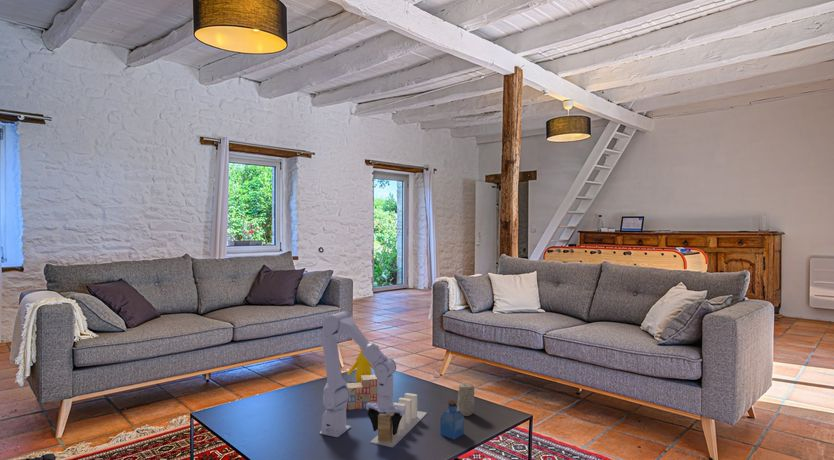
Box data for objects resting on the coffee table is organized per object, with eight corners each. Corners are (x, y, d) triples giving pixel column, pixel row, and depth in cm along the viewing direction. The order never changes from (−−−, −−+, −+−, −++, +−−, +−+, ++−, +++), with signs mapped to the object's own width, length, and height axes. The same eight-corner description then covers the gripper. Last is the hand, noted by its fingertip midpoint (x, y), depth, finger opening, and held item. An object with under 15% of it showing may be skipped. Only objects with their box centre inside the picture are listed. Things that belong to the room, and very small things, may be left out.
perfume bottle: (450, 429, 181) (450, 397, 181) (463, 433, 177) (464, 401, 177) (440, 434, 176) (440, 402, 176) (454, 439, 172) (454, 406, 172)
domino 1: (397, 435, 174) (397, 411, 174) (385, 433, 176) (385, 409, 176) (399, 433, 176) (399, 409, 176) (387, 431, 178) (387, 407, 178)
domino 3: (409, 424, 184) (409, 400, 184) (398, 422, 186) (398, 399, 186) (411, 422, 186) (411, 399, 186) (400, 420, 188) (400, 397, 188)
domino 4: (415, 418, 189) (415, 396, 189) (404, 416, 191) (404, 394, 191) (417, 416, 191) (417, 394, 191) (406, 415, 193) (406, 392, 193)
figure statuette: (383, 379, 236) (383, 335, 236) (380, 385, 229) (380, 339, 228) (347, 378, 238) (347, 334, 237) (344, 384, 230) (344, 338, 230)
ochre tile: (390, 443, 169) (390, 417, 168) (377, 440, 170) (378, 415, 170) (392, 440, 170) (392, 415, 170) (380, 438, 172) (380, 413, 172)
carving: (466, 418, 190) (467, 388, 190) (453, 412, 196) (453, 383, 196) (477, 414, 194) (478, 385, 194) (464, 408, 200) (464, 380, 200)
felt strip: (392, 447, 166) (392, 446, 166) (370, 442, 169) (370, 441, 169) (427, 413, 195) (427, 412, 195) (407, 409, 199) (407, 409, 199)
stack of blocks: (340, 410, 198) (340, 381, 198) (339, 405, 204) (339, 376, 204) (391, 407, 202) (391, 378, 202) (389, 401, 208) (389, 373, 208)
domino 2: (403, 429, 179) (403, 406, 179) (392, 427, 181) (392, 404, 181) (405, 427, 181) (405, 404, 181) (394, 425, 183) (394, 402, 183)
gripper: (361, 394, 169) (361, 432, 170) (398, 401, 164) (398, 440, 164) (371, 388, 176) (371, 425, 176) (407, 394, 170) (407, 432, 170)
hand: (385, 431), depth 170 cm, fingers open, 7 cm apart
